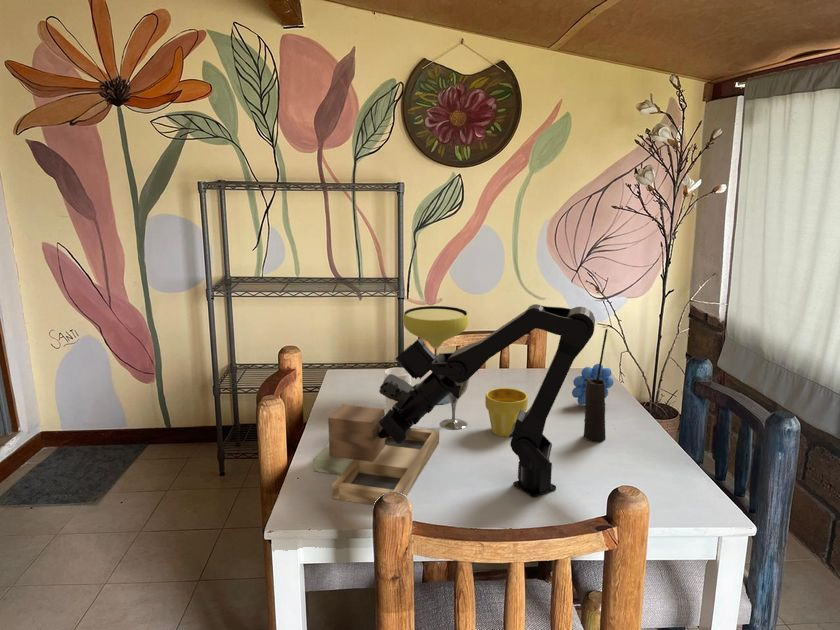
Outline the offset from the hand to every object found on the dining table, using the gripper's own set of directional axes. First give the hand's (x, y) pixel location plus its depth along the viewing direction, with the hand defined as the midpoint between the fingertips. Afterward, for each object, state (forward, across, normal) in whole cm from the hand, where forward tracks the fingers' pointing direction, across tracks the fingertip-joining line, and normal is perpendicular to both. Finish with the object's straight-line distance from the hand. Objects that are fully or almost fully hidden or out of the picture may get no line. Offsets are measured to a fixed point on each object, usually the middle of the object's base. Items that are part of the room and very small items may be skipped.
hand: (379, 436), depth 141 cm
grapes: (-26, -52, +36) cm, 68 cm away
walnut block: (+7, 0, -1) cm, 7 cm away
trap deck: (+7, 0, +4) cm, 8 cm away
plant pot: (-12, -27, +22) cm, 37 cm away
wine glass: (-2, -28, +12) cm, 30 cm away
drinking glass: (+7, -22, +3) cm, 23 cm away
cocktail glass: (+5, -45, +6) cm, 45 cm away
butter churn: (-26, -29, +36) cm, 53 cm away
